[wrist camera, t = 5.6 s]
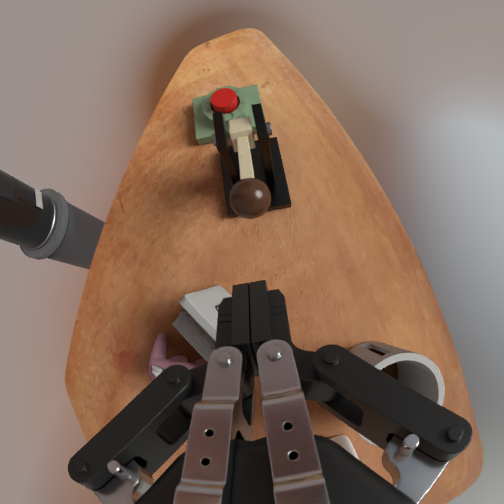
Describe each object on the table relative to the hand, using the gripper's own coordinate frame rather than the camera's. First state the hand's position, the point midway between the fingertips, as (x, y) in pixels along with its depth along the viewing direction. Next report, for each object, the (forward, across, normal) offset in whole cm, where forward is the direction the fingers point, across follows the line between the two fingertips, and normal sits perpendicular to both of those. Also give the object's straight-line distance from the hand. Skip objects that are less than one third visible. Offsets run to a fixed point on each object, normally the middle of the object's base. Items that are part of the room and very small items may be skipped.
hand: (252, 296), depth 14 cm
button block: (+36, +2, -3) cm, 37 cm away
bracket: (+29, 0, +5) cm, 29 cm away
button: (+34, +2, -5) cm, 35 cm away
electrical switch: (+16, +6, +18) cm, 24 cm away
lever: (+17, 0, 0) cm, 17 cm away
